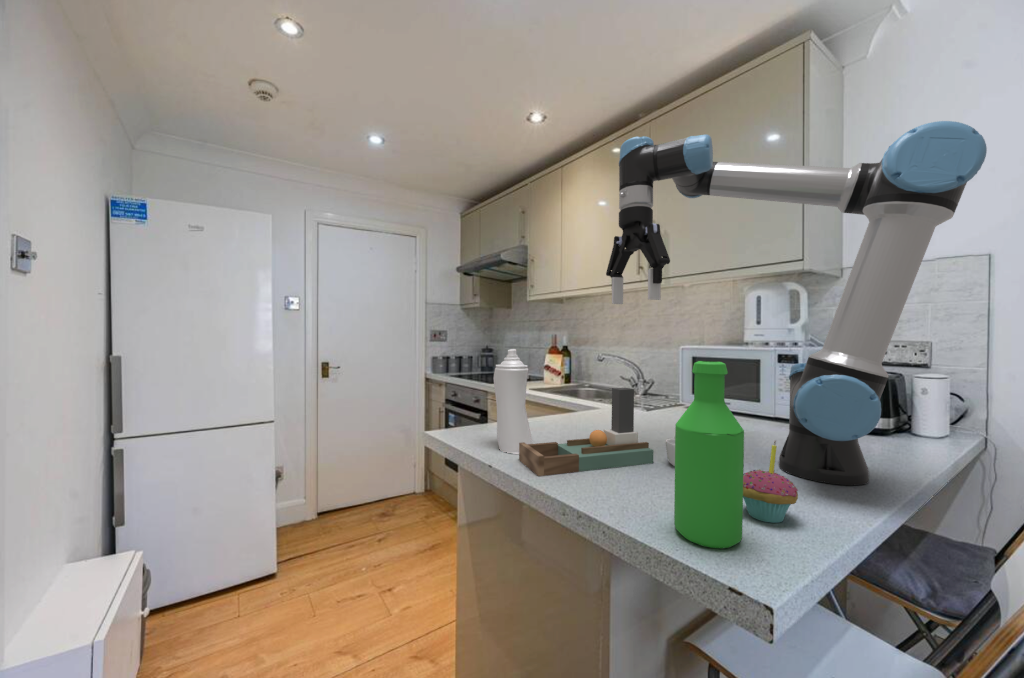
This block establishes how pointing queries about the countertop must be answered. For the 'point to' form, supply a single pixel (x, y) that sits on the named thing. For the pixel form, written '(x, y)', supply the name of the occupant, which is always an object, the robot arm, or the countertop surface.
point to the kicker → (622, 418)
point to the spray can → (511, 403)
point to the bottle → (709, 464)
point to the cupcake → (768, 493)
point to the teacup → (670, 450)
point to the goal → (547, 459)
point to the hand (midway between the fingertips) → (634, 302)
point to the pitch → (607, 457)
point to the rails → (605, 448)
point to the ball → (598, 438)
